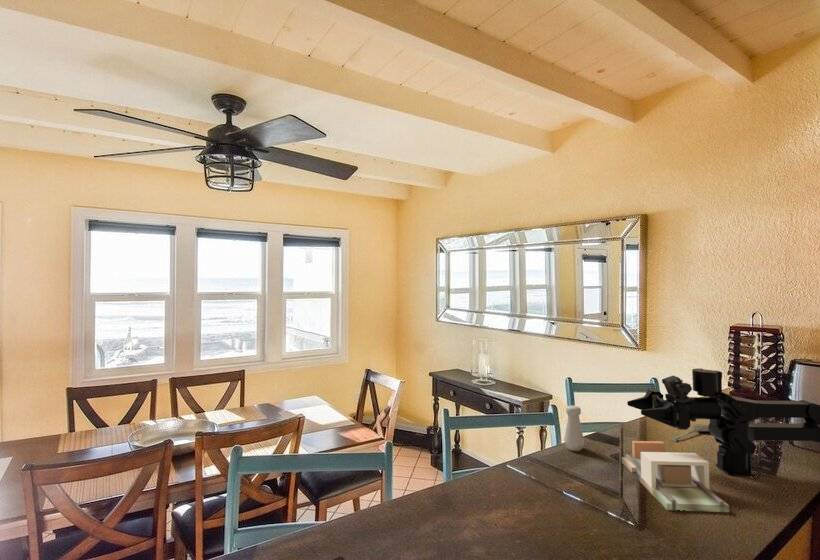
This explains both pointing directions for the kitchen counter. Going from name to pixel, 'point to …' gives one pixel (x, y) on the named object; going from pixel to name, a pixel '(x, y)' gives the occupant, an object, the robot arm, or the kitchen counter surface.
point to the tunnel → (672, 458)
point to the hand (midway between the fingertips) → (634, 407)
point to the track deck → (680, 493)
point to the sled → (664, 466)
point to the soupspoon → (697, 428)
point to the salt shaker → (573, 429)
